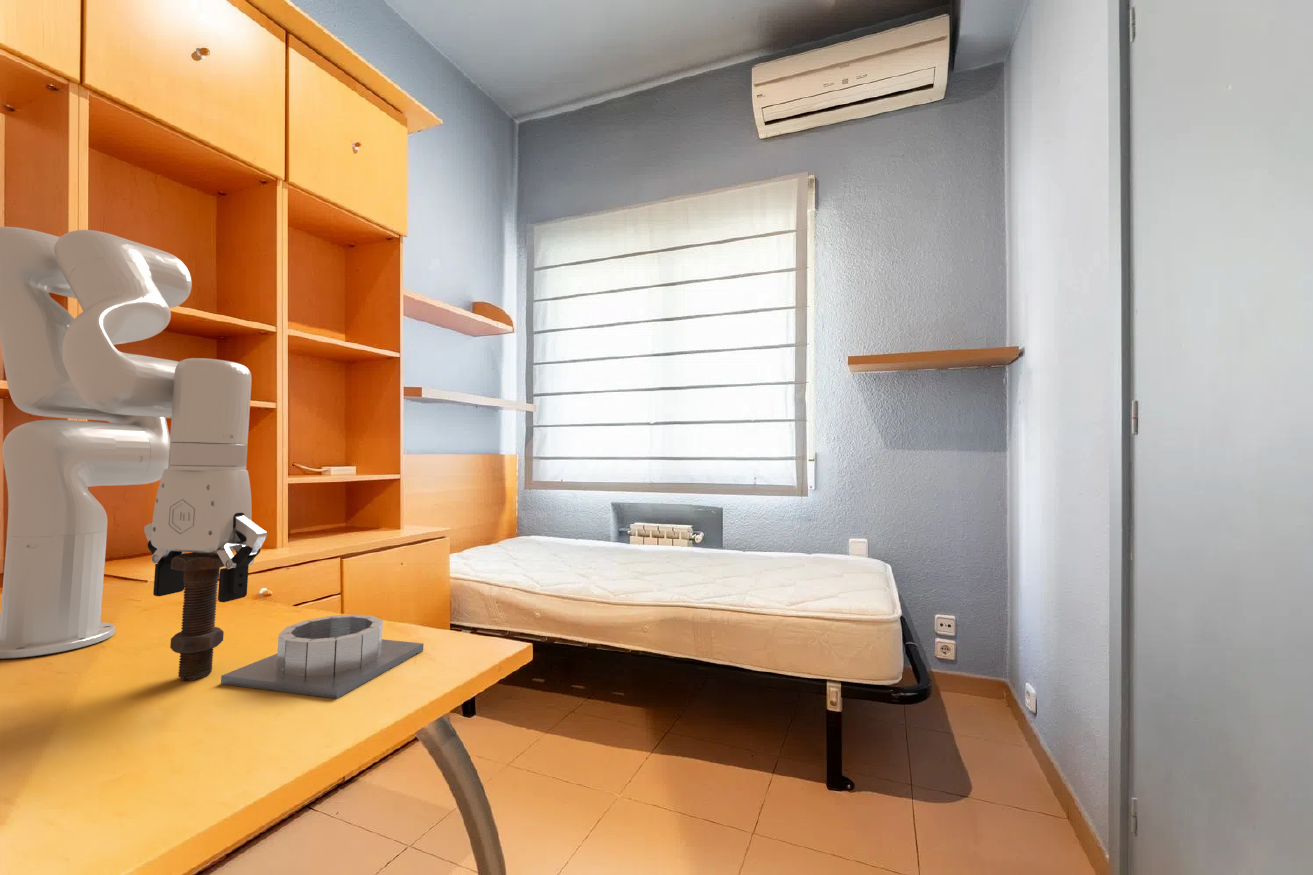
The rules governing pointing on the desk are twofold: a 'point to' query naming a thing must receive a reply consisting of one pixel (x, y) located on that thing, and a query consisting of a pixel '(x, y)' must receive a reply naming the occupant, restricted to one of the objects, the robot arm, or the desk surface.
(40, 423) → the robot arm
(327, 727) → the desk surface
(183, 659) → the bolt
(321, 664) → the ring fixture
